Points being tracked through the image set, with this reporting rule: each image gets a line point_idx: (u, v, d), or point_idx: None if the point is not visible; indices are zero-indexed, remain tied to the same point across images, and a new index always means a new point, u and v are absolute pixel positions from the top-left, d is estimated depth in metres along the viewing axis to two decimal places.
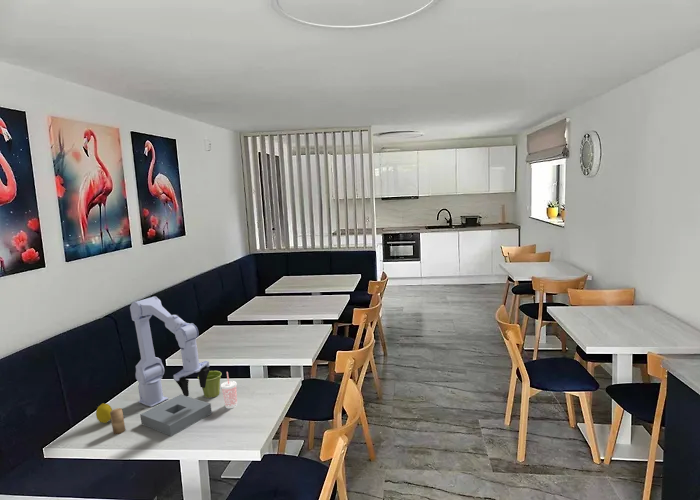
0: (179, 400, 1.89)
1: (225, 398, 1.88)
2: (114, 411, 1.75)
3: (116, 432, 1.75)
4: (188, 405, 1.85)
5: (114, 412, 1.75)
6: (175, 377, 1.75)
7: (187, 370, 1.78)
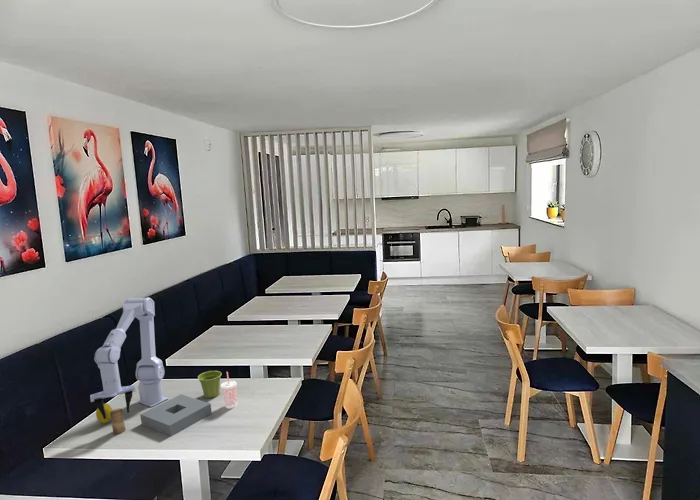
0: (179, 400, 1.89)
1: (225, 398, 1.88)
2: (114, 411, 1.75)
3: (116, 432, 1.75)
4: (188, 405, 1.85)
5: (114, 412, 1.75)
6: (90, 397, 1.72)
7: (104, 392, 1.73)
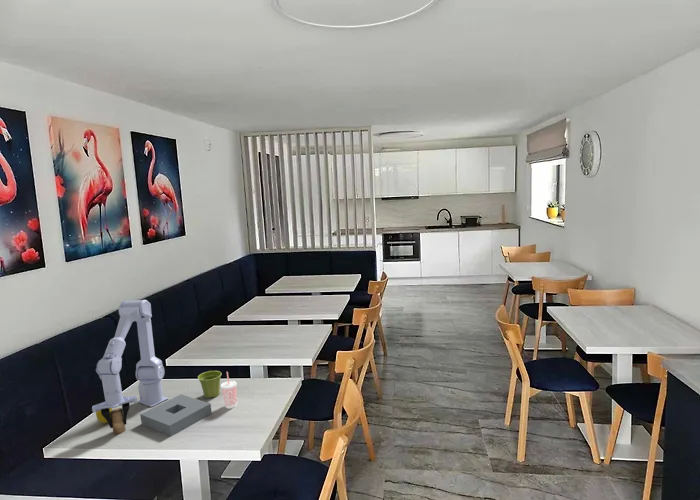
0: (179, 400, 1.89)
1: (225, 398, 1.88)
2: (113, 411, 1.75)
3: (116, 432, 1.75)
4: (188, 405, 1.85)
5: (114, 412, 1.75)
6: (92, 408, 1.72)
7: (106, 403, 1.73)
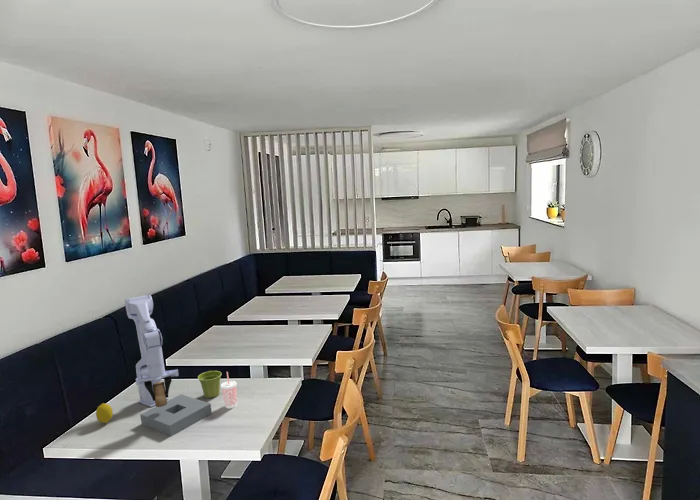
0: (179, 400, 1.89)
1: (225, 398, 1.88)
2: (156, 384, 1.79)
3: (158, 405, 1.79)
4: (188, 405, 1.85)
5: (157, 385, 1.78)
6: (136, 381, 1.76)
7: (149, 376, 1.77)
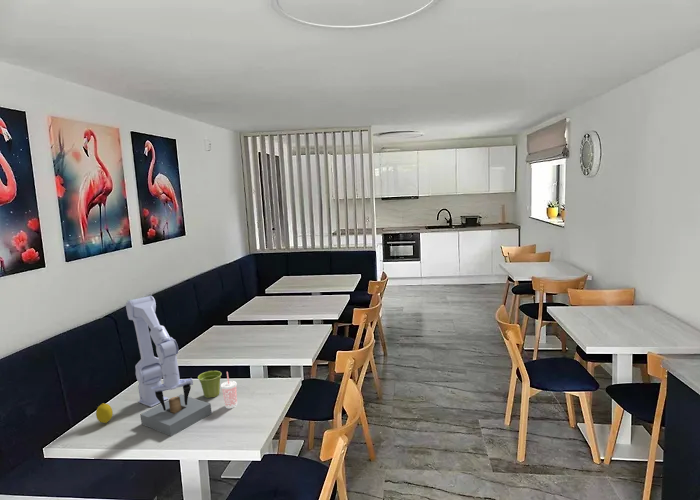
0: None
1: (225, 398, 1.88)
2: (172, 399, 1.81)
3: None
4: (188, 405, 1.85)
5: (173, 400, 1.81)
6: (151, 390, 1.78)
7: (164, 385, 1.79)
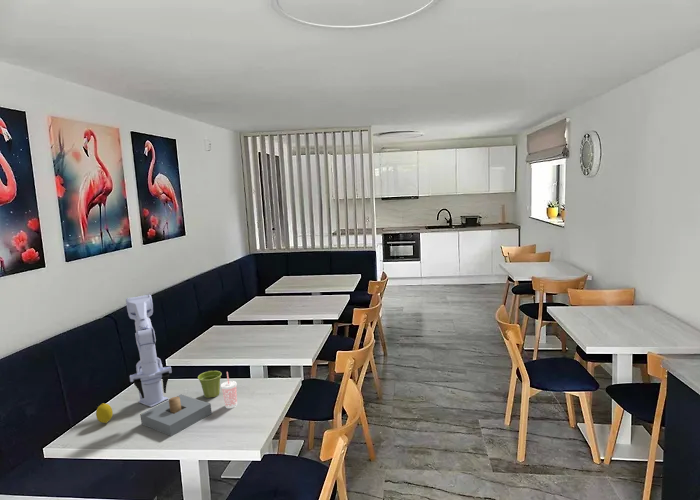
0: None
1: (225, 398, 1.88)
2: (172, 399, 1.81)
3: None
4: (188, 405, 1.85)
5: (173, 400, 1.81)
6: None
7: (143, 373, 1.80)
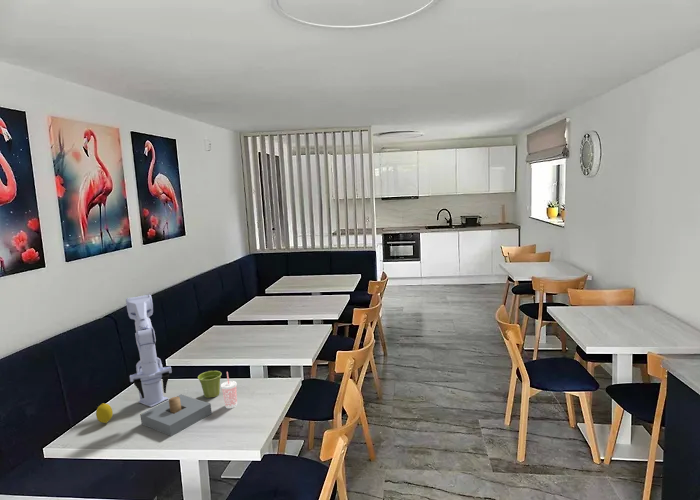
0: None
1: (225, 398, 1.88)
2: (172, 399, 1.81)
3: None
4: (188, 405, 1.85)
5: (173, 400, 1.81)
6: None
7: (143, 373, 1.80)
